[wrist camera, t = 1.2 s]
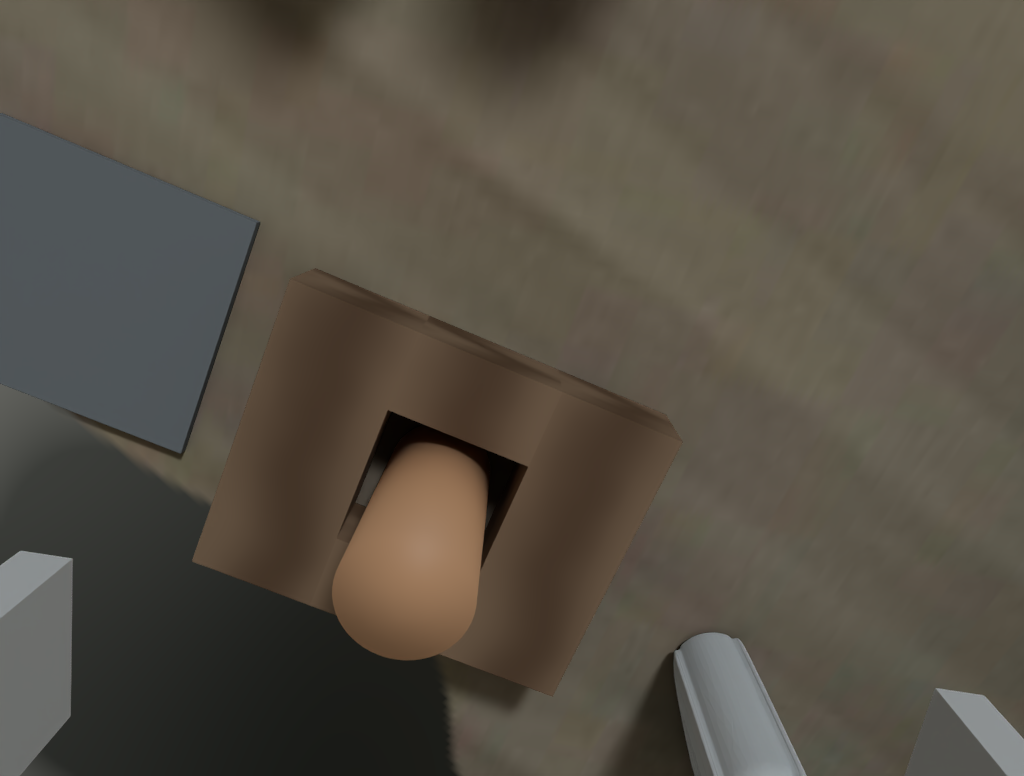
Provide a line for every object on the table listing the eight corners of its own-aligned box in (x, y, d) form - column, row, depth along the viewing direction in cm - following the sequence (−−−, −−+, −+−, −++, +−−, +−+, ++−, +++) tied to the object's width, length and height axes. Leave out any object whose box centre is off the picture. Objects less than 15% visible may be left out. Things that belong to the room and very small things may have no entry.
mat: (-55, 357, 37) (-63, 359, 36) (2, 113, 34) (-6, 112, 33) (185, 450, 38) (180, 453, 37) (260, 221, 35) (256, 222, 34)
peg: (375, 494, 38) (312, 630, 27) (411, 406, 37) (361, 508, 25) (467, 531, 39) (444, 679, 27) (506, 445, 38) (499, 562, 26)
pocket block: (224, 523, 39) (192, 561, 35) (315, 268, 35) (289, 278, 31) (549, 647, 40) (552, 696, 37) (665, 415, 37) (683, 442, 33)
